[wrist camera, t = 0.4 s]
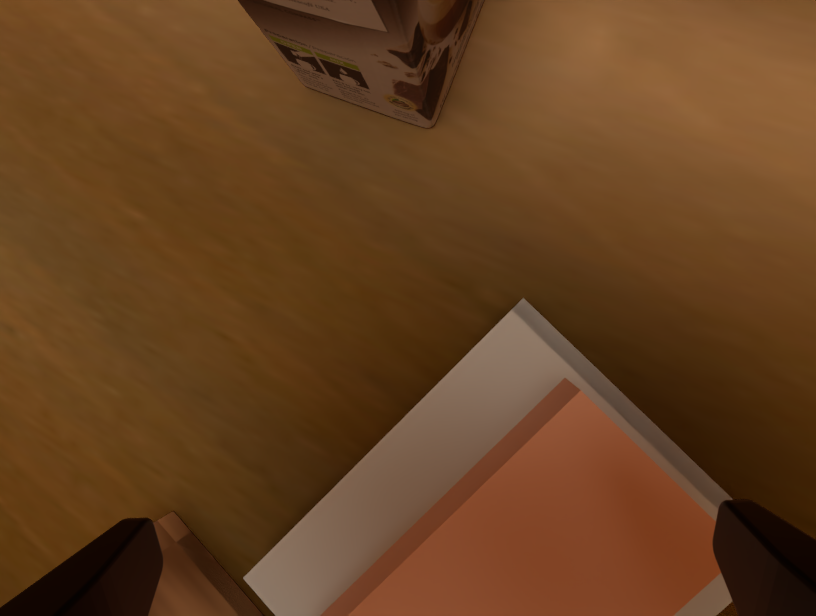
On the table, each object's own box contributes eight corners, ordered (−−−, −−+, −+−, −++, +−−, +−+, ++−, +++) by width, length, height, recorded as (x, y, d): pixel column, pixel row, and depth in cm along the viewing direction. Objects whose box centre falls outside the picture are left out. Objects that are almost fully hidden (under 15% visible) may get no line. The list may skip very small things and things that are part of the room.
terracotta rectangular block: (695, 504, 19) (745, 550, 15) (427, 751, 21) (409, 852, 17) (565, 377, 20) (580, 390, 16) (313, 621, 21) (271, 688, 17)
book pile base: (754, 525, 21) (787, 551, 19) (470, 781, 23) (467, 837, 20) (520, 300, 23) (523, 297, 20) (269, 552, 24) (242, 578, 22)
